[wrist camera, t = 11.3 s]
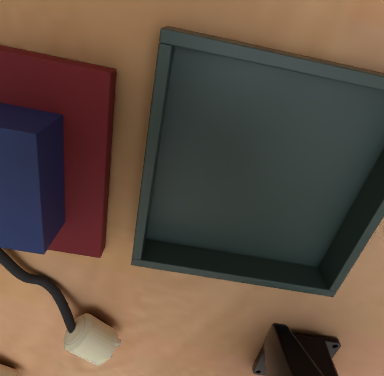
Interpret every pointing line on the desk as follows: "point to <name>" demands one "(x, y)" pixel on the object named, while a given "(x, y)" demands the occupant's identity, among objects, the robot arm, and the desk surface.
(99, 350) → the cable
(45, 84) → the dark red flat slab
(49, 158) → the blue rectangular block
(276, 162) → the dark green tray
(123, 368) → the desk surface
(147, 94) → the desk surface
